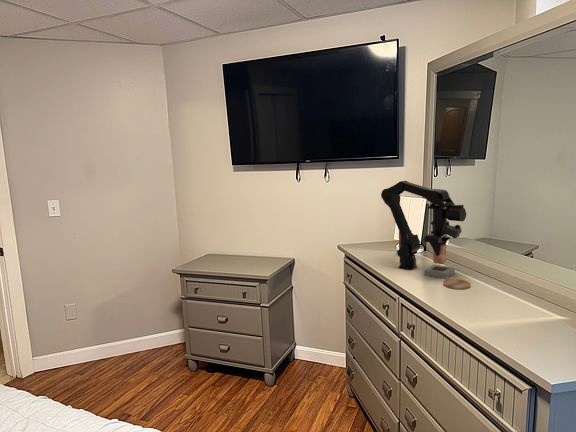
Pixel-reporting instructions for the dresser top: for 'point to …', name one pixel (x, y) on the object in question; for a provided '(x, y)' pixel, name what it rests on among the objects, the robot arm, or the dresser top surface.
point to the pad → (456, 284)
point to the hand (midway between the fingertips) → (439, 254)
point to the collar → (439, 271)
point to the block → (440, 255)
